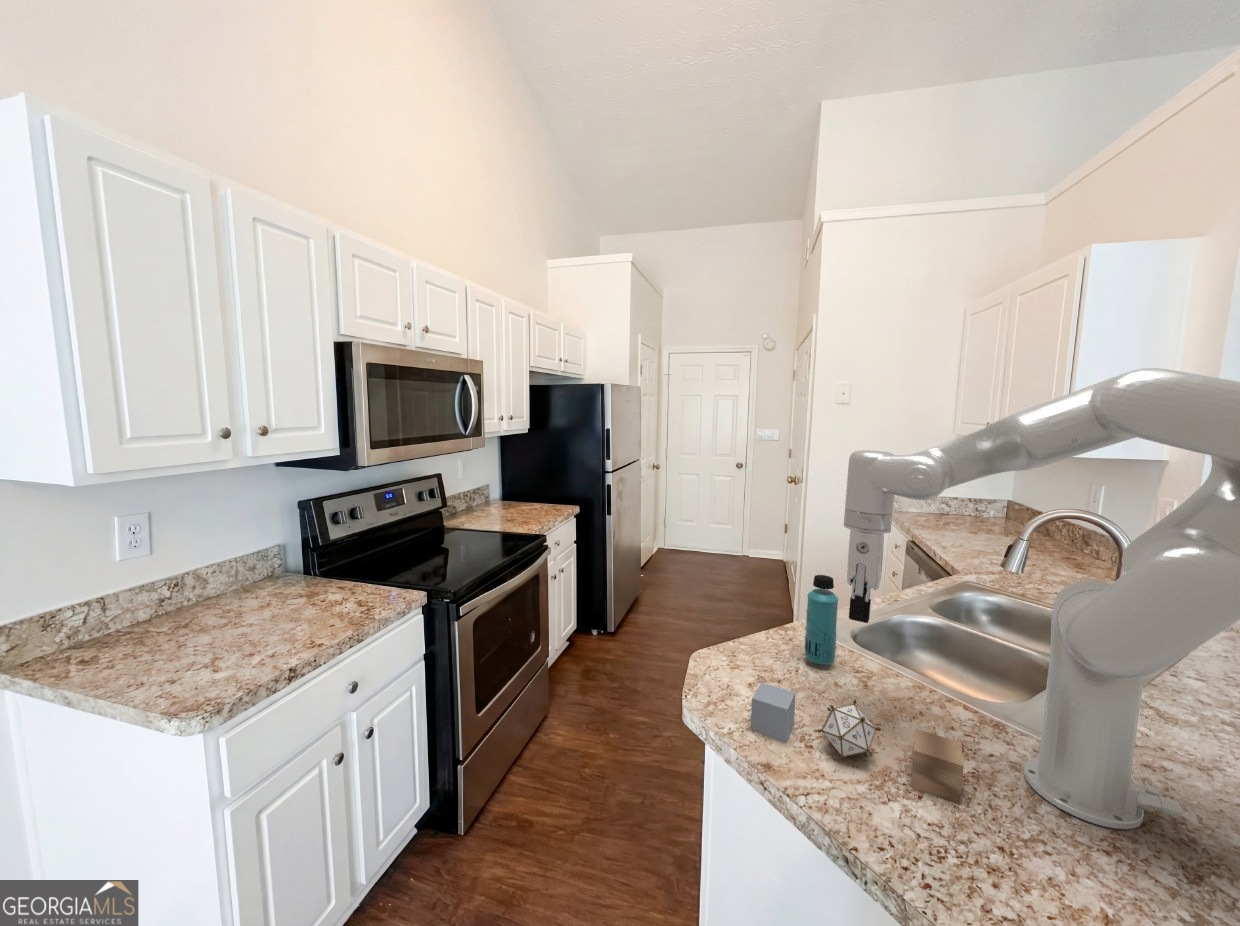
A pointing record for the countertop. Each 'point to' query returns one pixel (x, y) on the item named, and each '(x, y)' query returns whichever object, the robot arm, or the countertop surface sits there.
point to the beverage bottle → (821, 622)
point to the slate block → (773, 712)
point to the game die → (849, 730)
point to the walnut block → (937, 766)
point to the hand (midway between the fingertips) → (858, 619)
